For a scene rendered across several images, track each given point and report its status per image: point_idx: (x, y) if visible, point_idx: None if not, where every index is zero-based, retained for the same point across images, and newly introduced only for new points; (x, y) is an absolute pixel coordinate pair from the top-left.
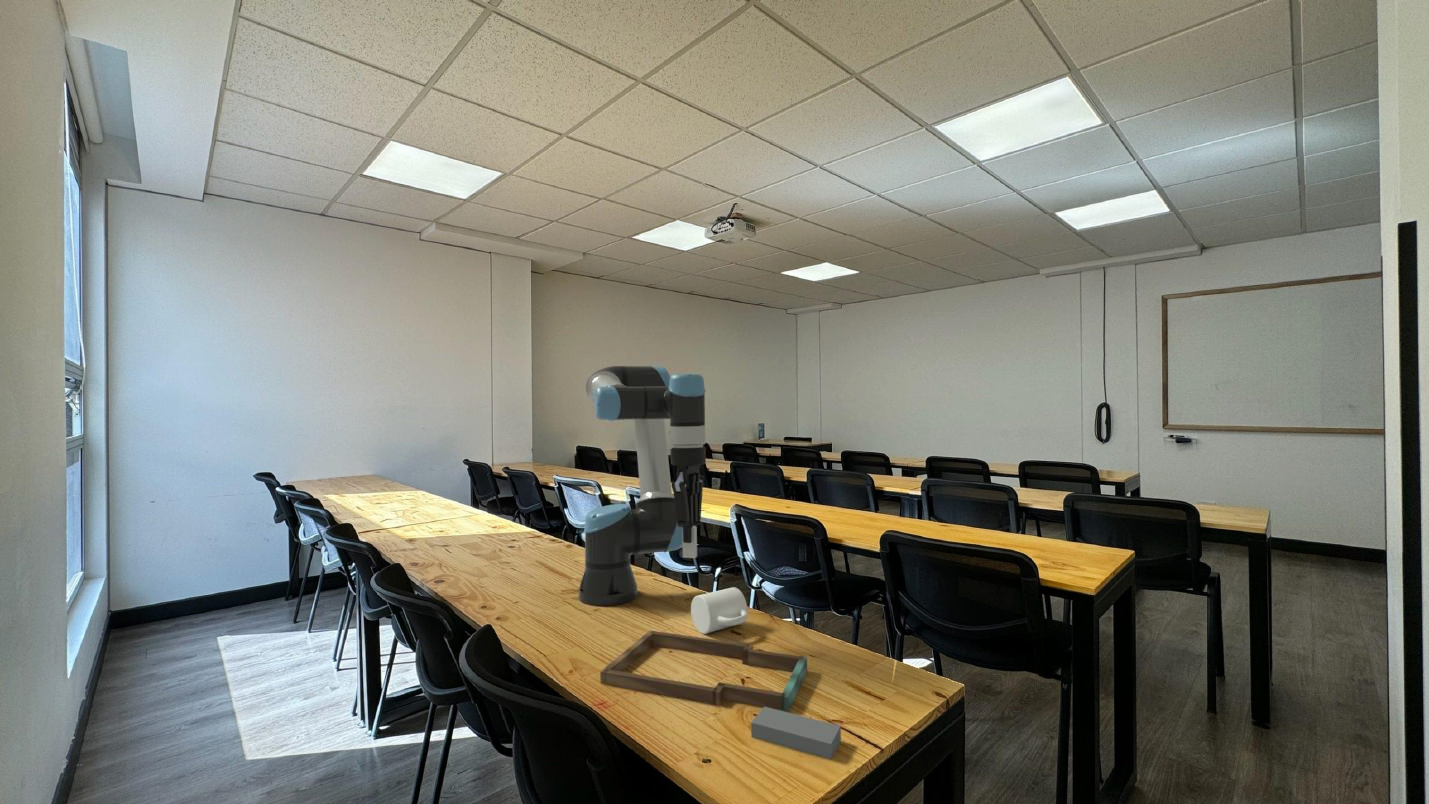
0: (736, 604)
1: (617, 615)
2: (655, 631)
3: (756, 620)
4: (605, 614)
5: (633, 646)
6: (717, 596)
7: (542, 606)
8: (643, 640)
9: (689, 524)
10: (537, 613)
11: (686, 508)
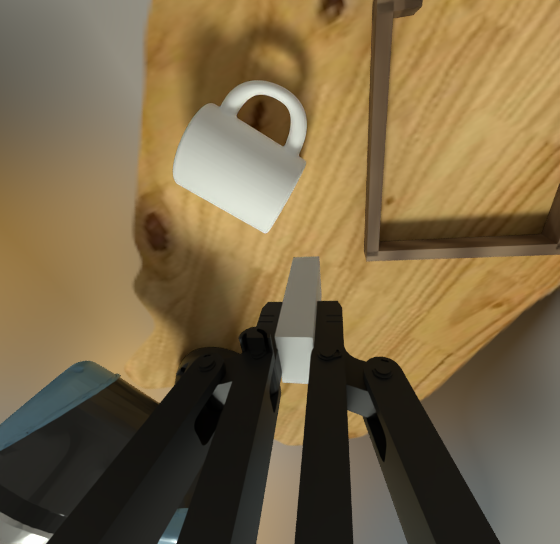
0: (230, 125)
1: None
2: (368, 250)
3: (176, 102)
4: None
5: (446, 253)
6: (253, 174)
7: (298, 421)
8: (415, 250)
9: (379, 362)
10: None
11: (460, 489)
